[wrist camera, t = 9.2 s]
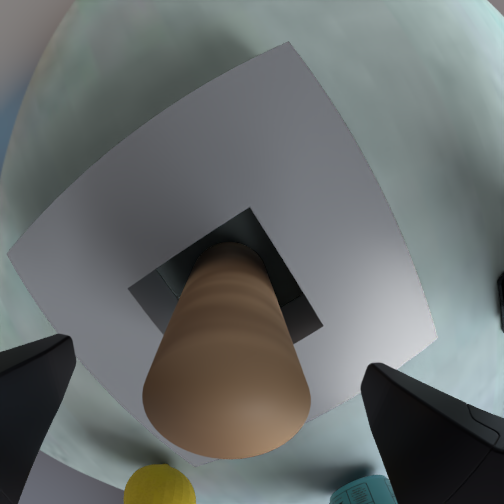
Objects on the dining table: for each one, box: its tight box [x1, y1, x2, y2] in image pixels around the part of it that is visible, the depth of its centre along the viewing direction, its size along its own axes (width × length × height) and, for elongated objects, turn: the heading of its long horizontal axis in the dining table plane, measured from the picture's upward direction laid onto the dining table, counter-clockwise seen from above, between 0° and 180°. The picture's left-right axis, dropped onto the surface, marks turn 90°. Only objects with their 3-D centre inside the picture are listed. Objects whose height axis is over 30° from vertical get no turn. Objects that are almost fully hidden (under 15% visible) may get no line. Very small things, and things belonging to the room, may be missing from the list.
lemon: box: [124, 464, 196, 504], centre depth 16 cm, size 6×6×8 cm
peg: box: [142, 242, 311, 459], centre depth 11 cm, size 4×4×10 cm
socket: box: [7, 42, 438, 467], centre depth 14 cm, size 16×16×4 cm
